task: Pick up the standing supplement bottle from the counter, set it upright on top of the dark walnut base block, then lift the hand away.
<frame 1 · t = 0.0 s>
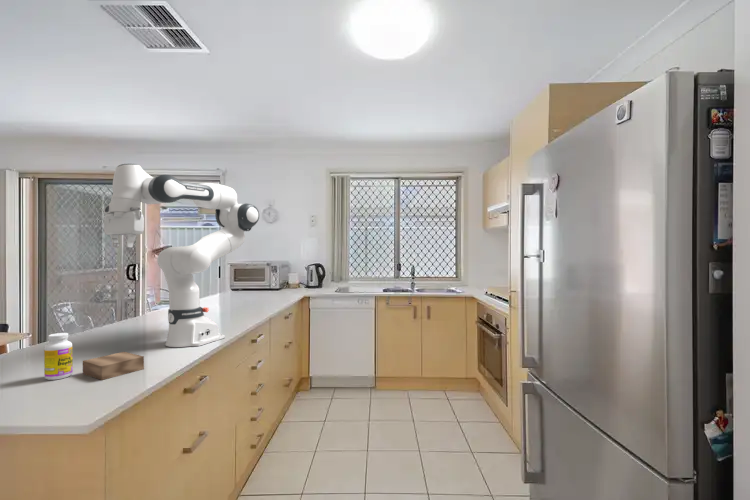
hand: (122, 247, 139), 39 cm above the countertop, tool pointing down, fingers open, 8 cm apart
supplement bottle: (59, 377, 119), on the countertop
walnut base: (113, 371, 123), on the countertop
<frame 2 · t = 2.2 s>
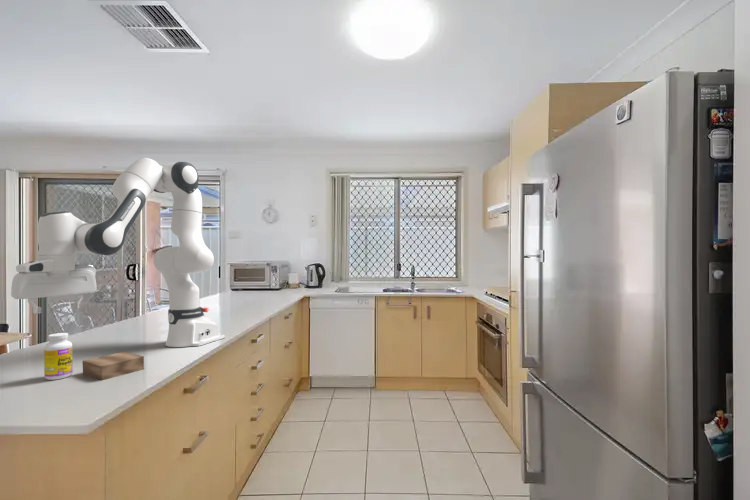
hand: (56, 311, 118), 20 cm above the countertop, tool pointing down, fingers open, 8 cm apart
nothing on the countertop moved.
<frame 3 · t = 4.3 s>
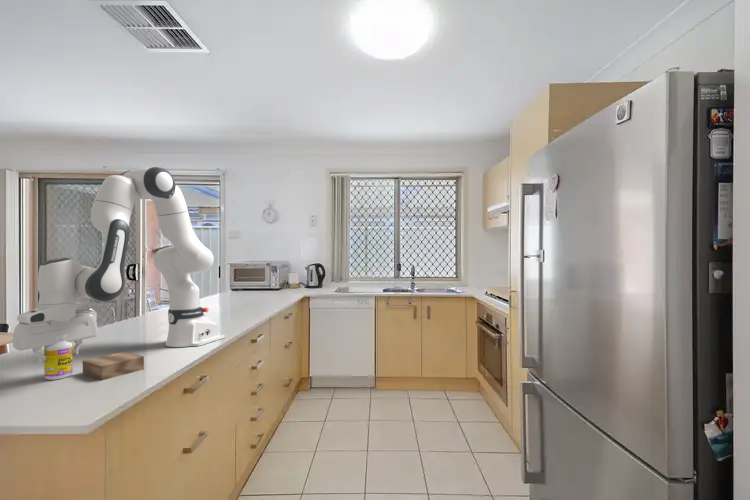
hand: (58, 358, 119), 6 cm above the countertop, tool pointing down, fingers closed on supplement bottle, 7 cm apart
supplement bottle: (59, 377, 119), on the countertop, touching gripper
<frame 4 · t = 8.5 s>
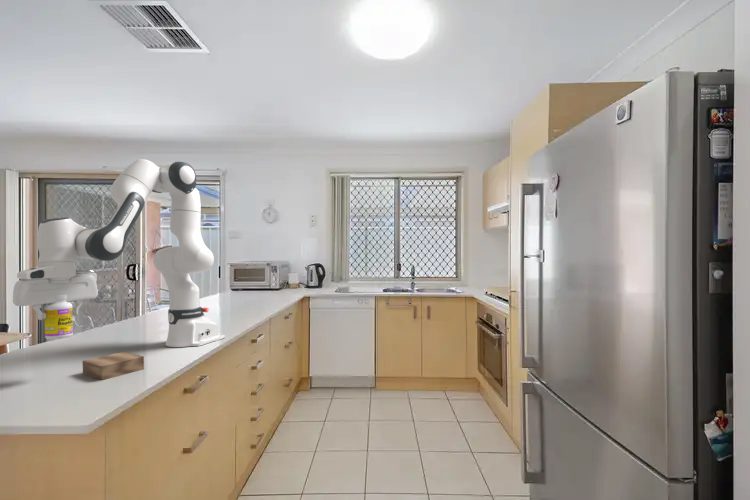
hand: (58, 317, 119), 18 cm above the countertop, tool pointing down, fingers closed on supplement bottle, 7 cm apart
supplement bottle: (59, 338, 119), point 12 cm above the countertop, touching gripper
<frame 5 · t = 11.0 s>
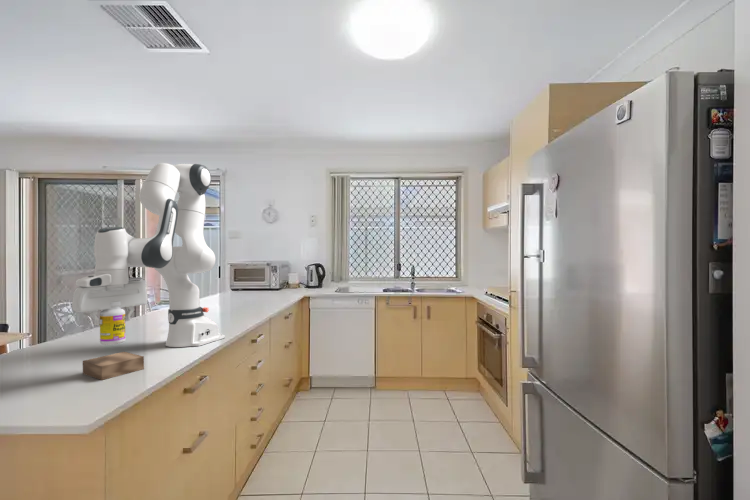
hand: (112, 323, 123), 15 cm above the countertop, tool pointing down, fingers closed on supplement bottle, 7 cm apart
supplement bottle: (113, 343, 123), point 9 cm above the countertop, touching gripper
when the fingers open (11 cm above the countertop, at t = 13.1 s): supplement bottle stays where it is, resting on walnut base.
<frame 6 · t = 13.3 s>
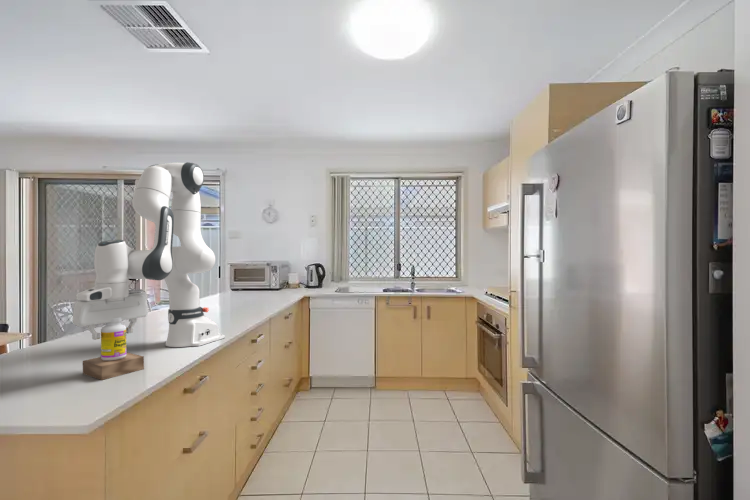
hand: (113, 335, 123), 11 cm above the countertop, tool pointing down, fingers open, 8 cm apart
supplement bottle: (114, 359, 124), point 4 cm above the countertop, touching walnut base
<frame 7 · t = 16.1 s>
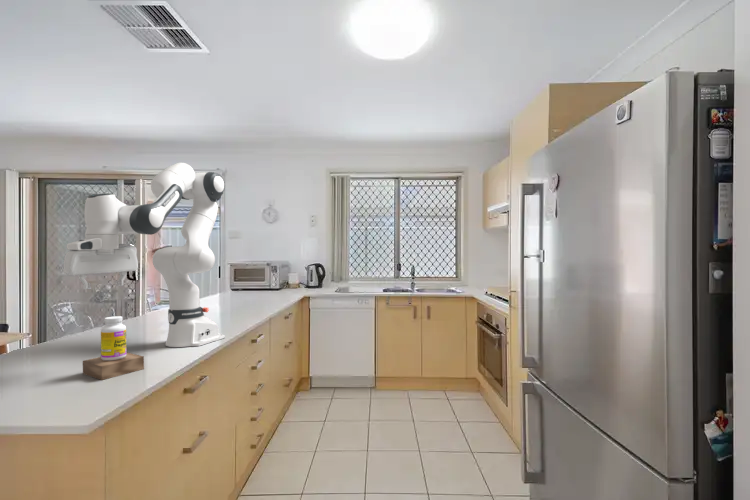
hand: (103, 287, 126), 26 cm above the countertop, tool pointing down, fingers open, 8 cm apart
nothing on the countertop moved.
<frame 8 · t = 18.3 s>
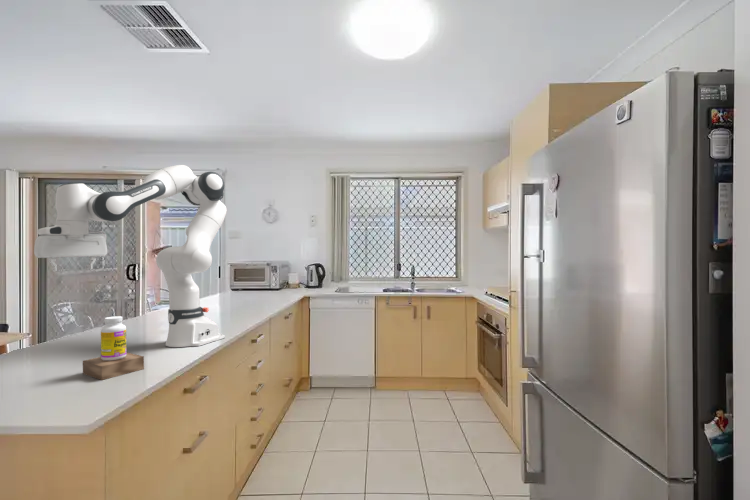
hand: (73, 270, 135), 31 cm above the countertop, tool pointing down, fingers open, 8 cm apart
nothing on the countertop moved.
at the end: supplement bottle inside the target area on the walnut base (0.2 cm from its centre), point 3.8 cm above the walnut base's base; supplement bottle tilted 0°; the gripper is holding nothing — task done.
